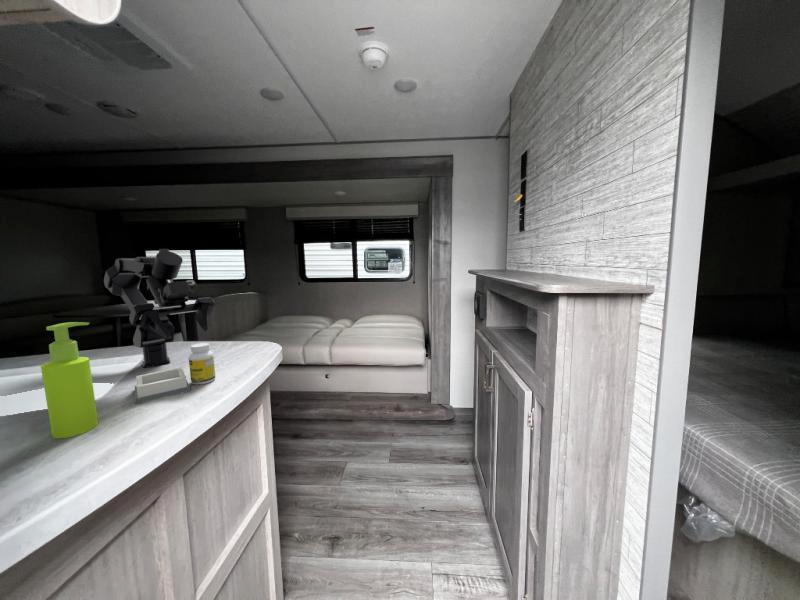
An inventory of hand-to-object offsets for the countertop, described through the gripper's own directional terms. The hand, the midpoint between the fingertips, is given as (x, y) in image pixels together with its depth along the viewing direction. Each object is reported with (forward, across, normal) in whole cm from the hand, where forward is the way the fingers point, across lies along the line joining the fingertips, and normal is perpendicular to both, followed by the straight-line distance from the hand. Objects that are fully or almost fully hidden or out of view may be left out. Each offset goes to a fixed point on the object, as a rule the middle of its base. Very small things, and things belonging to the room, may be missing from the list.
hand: (188, 333), depth 81 cm
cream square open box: (+11, -8, +6) cm, 15 cm away
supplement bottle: (+13, 0, +4) cm, 13 cm away
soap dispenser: (+16, -24, +2) cm, 29 cm away
